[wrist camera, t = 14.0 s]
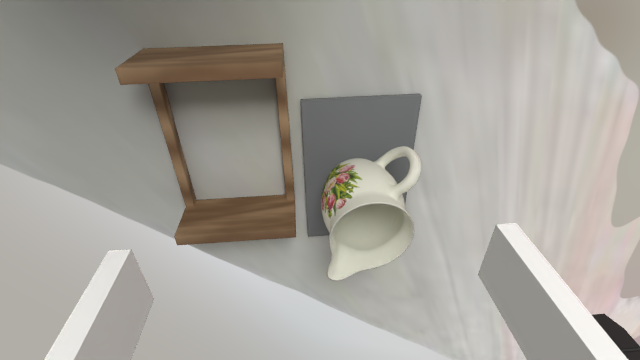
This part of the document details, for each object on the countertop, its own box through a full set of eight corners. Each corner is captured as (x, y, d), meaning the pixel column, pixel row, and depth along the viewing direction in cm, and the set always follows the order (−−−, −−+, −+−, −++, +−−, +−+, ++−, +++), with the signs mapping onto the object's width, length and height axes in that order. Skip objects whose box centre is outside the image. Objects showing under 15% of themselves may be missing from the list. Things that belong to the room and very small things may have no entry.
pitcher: (425, 148, 50) (467, 205, 39) (347, 226, 57) (363, 294, 46) (370, 106, 46) (399, 157, 35) (293, 197, 53) (295, 263, 42)
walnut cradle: (143, 48, 40) (114, 68, 34) (282, 43, 41) (281, 61, 35) (190, 208, 54) (177, 245, 48) (295, 202, 55) (295, 237, 48)
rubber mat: (300, 99, 45) (301, 101, 45) (419, 93, 46) (421, 95, 46) (307, 233, 59) (308, 236, 58) (399, 227, 60) (401, 230, 59)
